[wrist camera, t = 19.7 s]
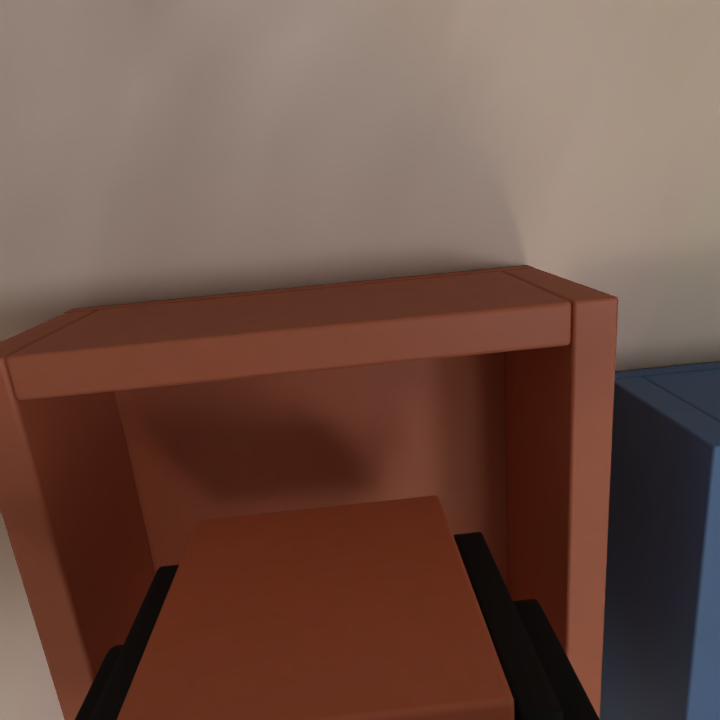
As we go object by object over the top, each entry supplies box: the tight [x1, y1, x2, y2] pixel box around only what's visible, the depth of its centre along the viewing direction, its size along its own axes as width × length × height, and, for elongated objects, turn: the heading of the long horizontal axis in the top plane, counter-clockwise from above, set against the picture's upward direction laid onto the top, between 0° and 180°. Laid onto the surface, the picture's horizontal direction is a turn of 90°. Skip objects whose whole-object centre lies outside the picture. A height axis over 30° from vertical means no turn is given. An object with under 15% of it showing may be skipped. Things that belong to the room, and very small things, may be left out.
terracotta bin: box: [0, 265, 618, 720], centre depth 13 cm, size 11×11×4 cm
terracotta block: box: [117, 496, 514, 720], centre depth 9 cm, size 4×4×4 cm
